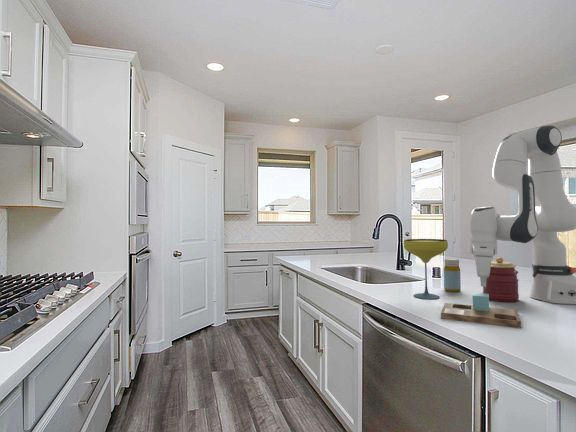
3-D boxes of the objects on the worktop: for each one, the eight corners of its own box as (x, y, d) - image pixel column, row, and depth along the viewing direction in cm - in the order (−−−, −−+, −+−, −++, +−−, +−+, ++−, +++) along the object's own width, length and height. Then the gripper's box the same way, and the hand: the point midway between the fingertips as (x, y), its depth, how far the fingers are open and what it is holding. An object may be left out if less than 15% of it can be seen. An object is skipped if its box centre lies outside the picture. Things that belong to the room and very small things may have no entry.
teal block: (489, 307, 121) (488, 293, 121) (489, 311, 117) (488, 296, 117) (473, 306, 123) (472, 292, 123) (472, 309, 119) (472, 295, 119)
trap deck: (517, 315, 117) (517, 309, 117) (521, 328, 105) (521, 321, 105) (445, 307, 129) (445, 302, 129) (440, 318, 116) (440, 312, 116)
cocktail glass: (401, 291, 158) (400, 239, 158) (442, 292, 155) (440, 238, 156) (409, 301, 140) (407, 241, 141) (455, 302, 138) (453, 241, 138)
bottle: (463, 292, 155) (462, 259, 155) (448, 292, 155) (447, 260, 156) (456, 288, 162) (455, 258, 162) (441, 289, 162) (441, 258, 163)
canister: (525, 303, 134) (524, 259, 134) (489, 302, 136) (488, 258, 137) (510, 295, 147) (509, 255, 147) (478, 295, 149) (477, 255, 149)
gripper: (474, 247, 137) (474, 280, 137) (473, 250, 119) (472, 289, 119) (492, 247, 134) (492, 282, 133) (493, 251, 116) (493, 291, 116)
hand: (483, 286), depth 126 cm, fingers closed
